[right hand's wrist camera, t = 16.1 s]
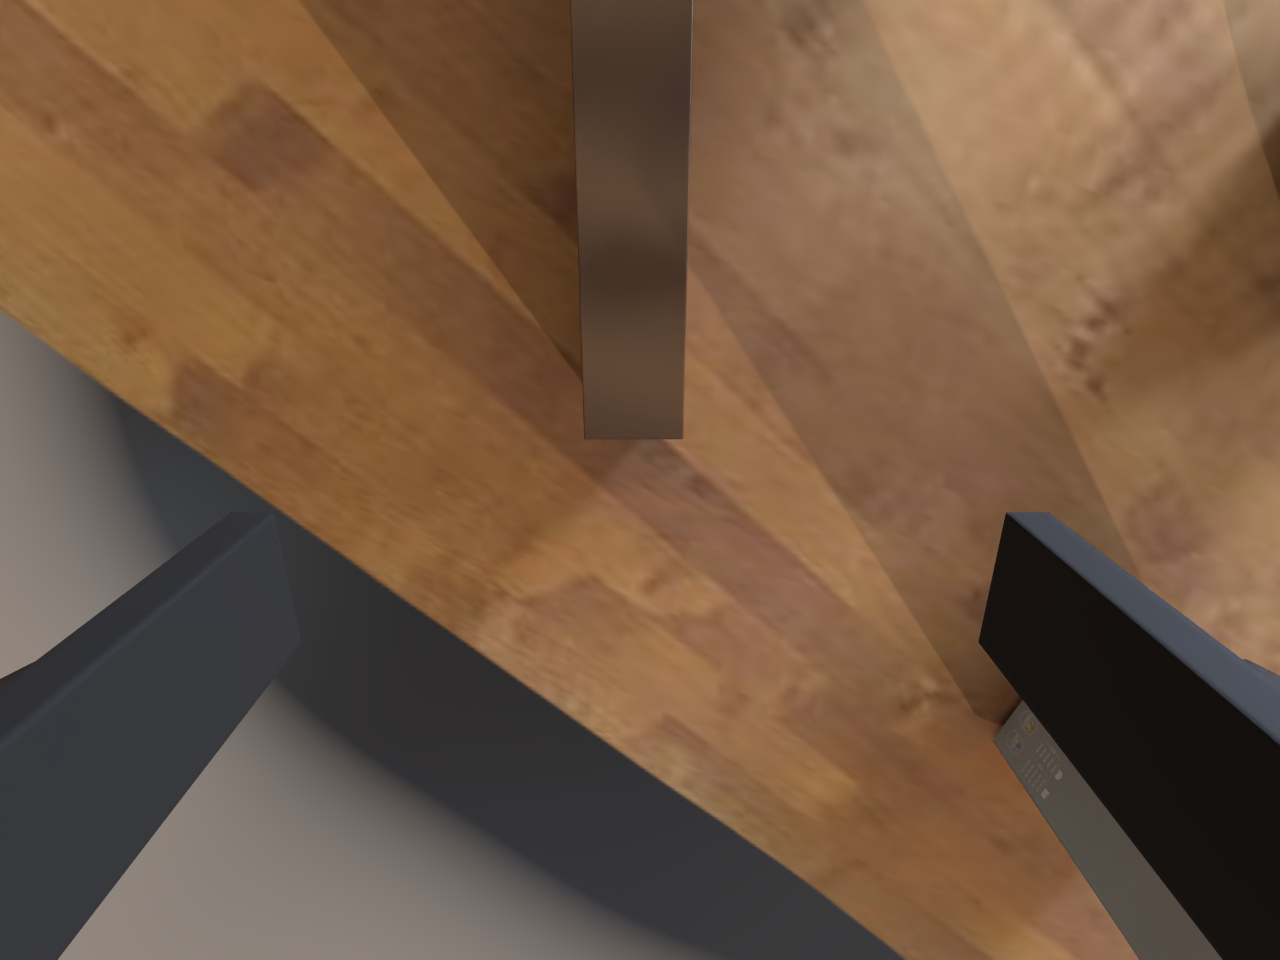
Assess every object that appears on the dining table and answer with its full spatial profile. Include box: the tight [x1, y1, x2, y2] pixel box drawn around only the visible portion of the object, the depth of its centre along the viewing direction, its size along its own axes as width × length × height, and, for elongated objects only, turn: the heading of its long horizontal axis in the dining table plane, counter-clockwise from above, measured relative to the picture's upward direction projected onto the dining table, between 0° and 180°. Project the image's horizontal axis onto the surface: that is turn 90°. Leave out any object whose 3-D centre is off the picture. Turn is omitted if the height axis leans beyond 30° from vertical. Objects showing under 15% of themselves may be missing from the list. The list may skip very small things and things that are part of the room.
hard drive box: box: [993, 700, 1222, 960], centre depth 43 cm, size 16×8×20 cm, turn 68°
